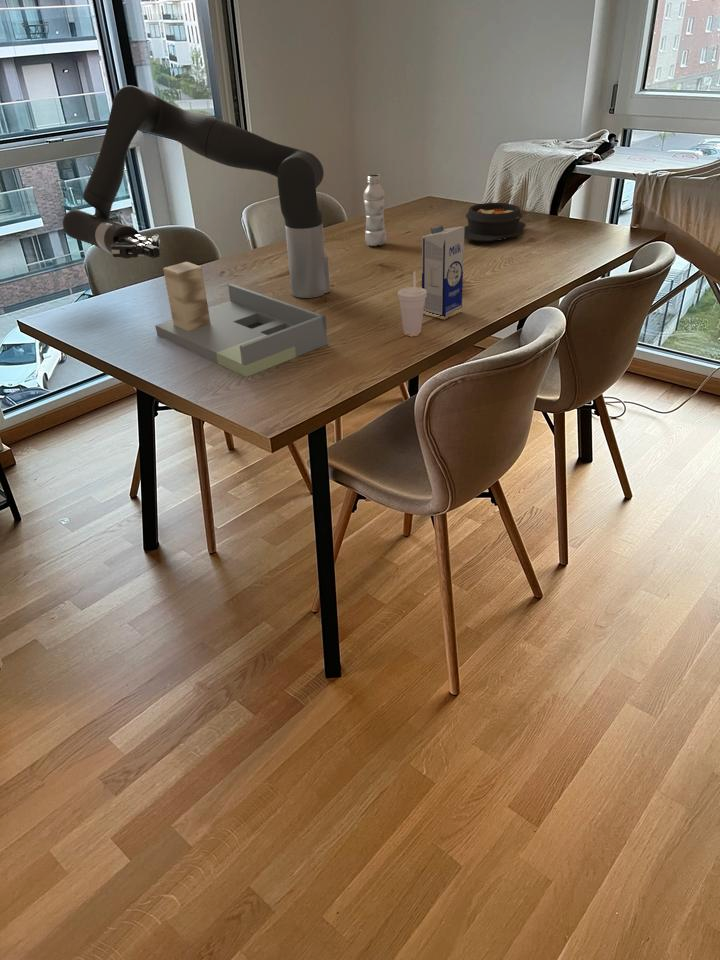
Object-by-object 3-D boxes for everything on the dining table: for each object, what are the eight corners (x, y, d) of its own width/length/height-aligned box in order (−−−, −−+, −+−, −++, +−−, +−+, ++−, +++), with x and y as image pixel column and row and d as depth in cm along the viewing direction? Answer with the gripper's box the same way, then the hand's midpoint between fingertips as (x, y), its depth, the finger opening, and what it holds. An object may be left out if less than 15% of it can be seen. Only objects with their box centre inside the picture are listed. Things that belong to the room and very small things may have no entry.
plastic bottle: (390, 243, 229) (389, 174, 219) (379, 249, 225) (377, 178, 214) (372, 241, 232) (370, 172, 222) (360, 247, 228) (357, 177, 217)
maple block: (195, 317, 175) (186, 261, 168) (210, 323, 172) (201, 266, 165) (173, 324, 172) (163, 268, 165) (188, 331, 168) (178, 273, 161)
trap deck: (234, 309, 186) (231, 283, 183) (327, 344, 165) (325, 316, 162) (157, 335, 174) (151, 308, 170) (246, 377, 153) (242, 346, 149)
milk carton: (444, 320, 174) (446, 232, 163) (421, 314, 178) (421, 227, 167) (462, 311, 179) (465, 225, 168) (439, 305, 183) (440, 221, 172)
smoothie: (424, 340, 165) (425, 276, 157) (395, 338, 166) (394, 276, 159) (428, 329, 170) (428, 267, 163) (400, 328, 172) (399, 266, 164)
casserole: (498, 250, 219) (500, 221, 215) (444, 241, 229) (445, 213, 225) (539, 231, 235) (541, 202, 231) (487, 223, 245) (488, 196, 241)
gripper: (88, 228, 175) (126, 242, 165) (139, 217, 183) (178, 230, 172) (95, 261, 179) (133, 276, 169) (145, 248, 187) (183, 262, 176)
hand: (156, 252), depth 170 cm, fingers closed
